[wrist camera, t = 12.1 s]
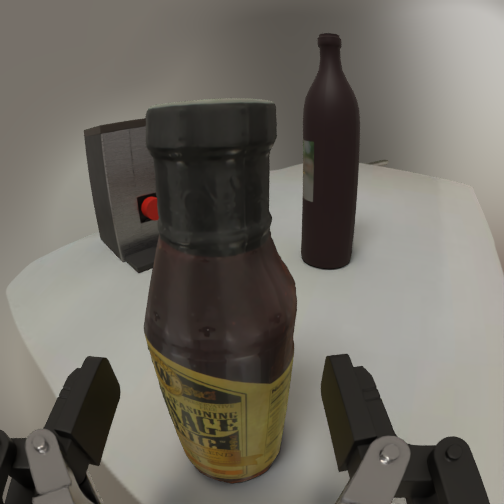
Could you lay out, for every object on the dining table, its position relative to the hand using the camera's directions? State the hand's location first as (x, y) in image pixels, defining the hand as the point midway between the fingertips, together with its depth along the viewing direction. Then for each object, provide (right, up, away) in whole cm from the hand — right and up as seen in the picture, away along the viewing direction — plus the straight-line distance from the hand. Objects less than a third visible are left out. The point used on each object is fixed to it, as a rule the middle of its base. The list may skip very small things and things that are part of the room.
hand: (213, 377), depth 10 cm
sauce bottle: (0, -9, +7) cm, 11 cm away
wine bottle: (+12, +3, +32) cm, 34 cm away
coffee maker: (-16, +6, +39) cm, 43 cm away
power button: (-13, +9, +34) cm, 37 cm away
